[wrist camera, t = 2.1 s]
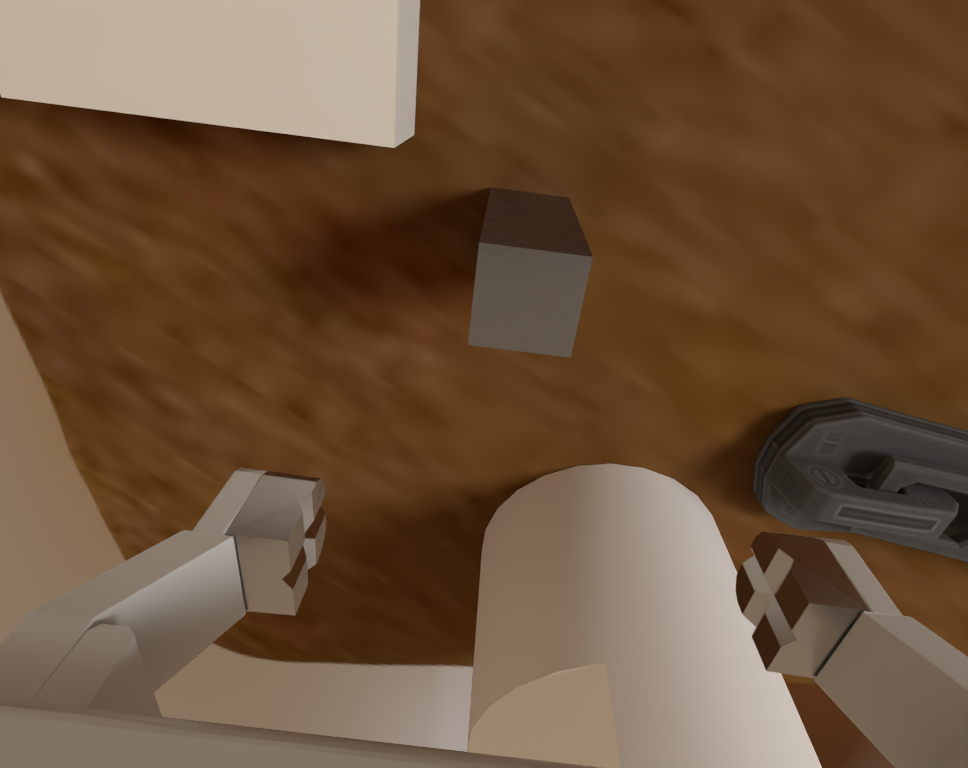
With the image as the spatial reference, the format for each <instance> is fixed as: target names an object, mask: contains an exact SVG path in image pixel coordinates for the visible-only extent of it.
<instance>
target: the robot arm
mask: <svg viewBox="0 0 968 768" xmlns="http://www.w3.org/2000/svg"><path fill="white" fill-rule="evenodd" d="M324 496H325V489H324V481H323V480H322V479H321V478H314V477H307V476H300V475H293V474H286V473H279V472H272V471H268V472H267V471H261V470H254V469H248V468H240V469H238V470H236V471H235V472H234V473H233V474H232V475H231V477H230V478H229V480H228V481H227V482H226V484H225V485H224V487H223V488H222V489H221V491H220V492H219V494H218V495H217V496H216V498H215V499H214V501H213V502H212V503H211V505H210V506H209V508H208V509H207V510H206V512H205V513H204V515H203V516H202V517H201V519H200V520H199V522H198V523H197V525H196V526H195V527H194V529H193V530H192V531H186V530H183V531H181V532H179V533H177V534H175V535H173V536H171V537H170V538H168V539H166V540H164V541H162V542H160V543H158V544H156V545H155V546H153V547H151V548H149V549H147V550H145V551H143V552H141V553H140V554H138V555H136V556H134V557H132V558H130V559H128V560H127V561H125V562H123V563H121V564H119V565H117V566H115V567H113V568H112V569H110V570H108V571H106V572H104V573H102V574H100V575H99V576H97V577H95V578H93V579H91V580H89V581H87V582H85V583H83V584H82V585H80V586H78V587H76V588H74V589H72V590H70V591H68V592H67V593H65V594H63V595H61V596H59V597H57V598H55V599H53V600H52V601H50V602H48V603H46V604H44V605H42V606H41V607H38V608H37V609H35V610H33V611H31V612H29V613H28V615H27V616H26V617H25V618H24V619H23V620H22V621H21V622H20V623H19V624H18V626H17V627H16V628H15V629H14V630H13V631H12V632H11V633H10V634H9V635H8V637H7V638H6V639H5V640H4V641H3V642H2V643H1V644H0V768H603V767H594V766H585V765H576V764H568V763H559V762H550V761H541V760H533V759H524V758H515V757H506V756H498V755H489V754H480V753H471V752H463V751H454V750H445V749H436V748H427V747H418V746H410V745H402V744H393V743H384V742H376V741H367V740H358V739H350V738H341V737H332V736H323V735H314V734H305V733H297V732H289V731H280V730H272V729H263V728H254V727H246V726H237V725H228V724H219V723H211V722H202V721H193V720H184V719H176V718H167V717H162V716H161V713H160V710H159V708H158V704H157V701H156V698H155V696H154V692H155V691H156V690H158V689H159V688H160V687H161V686H162V685H163V684H164V683H166V682H167V681H168V680H169V679H170V678H172V677H173V676H174V675H175V674H176V673H177V672H178V671H180V670H181V669H182V668H183V667H184V666H186V665H187V664H188V663H189V662H190V661H192V660H193V659H194V658H195V657H196V656H197V655H199V654H200V653H201V652H202V651H203V650H204V649H206V648H207V647H208V646H209V645H210V644H212V643H213V642H214V641H215V640H216V639H217V638H219V637H220V636H221V635H222V634H223V633H224V632H226V631H227V630H228V629H229V628H230V627H231V626H233V625H234V624H235V623H236V622H237V621H239V620H240V619H241V618H242V617H243V616H244V615H246V611H250V612H261V613H273V614H284V615H296V612H297V610H298V608H299V605H300V603H301V600H302V598H303V595H304V593H305V591H306V588H307V586H308V572H307V570H308V569H310V568H311V567H313V566H314V565H315V564H317V561H318V558H319V556H320V553H321V550H322V546H323V542H324V538H325V531H326V513H325V512H324V510H323V509H322V508H321V507H320V505H321V503H322V501H323V499H324ZM751 548H752V551H753V553H754V556H753V557H752V558H750V559H748V560H747V561H745V562H743V563H742V565H741V567H740V569H739V571H738V574H737V576H736V590H735V591H736V596H737V601H738V604H739V607H740V609H741V612H742V614H743V615H744V616H745V617H746V618H747V619H748V620H749V621H750V622H751V623H752V624H753V625H754V626H755V629H754V632H753V634H752V638H753V641H754V643H755V645H756V648H757V650H758V652H759V655H760V657H761V660H762V662H763V664H764V667H765V669H766V671H770V672H777V673H783V674H790V675H797V676H804V677H811V678H815V679H814V681H815V682H816V683H817V684H818V685H819V686H820V687H821V689H822V690H823V691H824V692H825V693H826V694H827V695H828V696H829V697H830V698H831V699H832V700H833V701H834V702H835V704H836V705H837V706H838V707H839V708H840V709H841V710H842V711H843V712H844V713H845V714H846V715H847V716H848V718H849V719H850V720H851V721H852V722H853V723H854V724H855V725H856V726H857V727H858V728H859V729H860V730H861V732H862V733H863V734H864V735H865V736H866V737H867V738H868V739H869V740H870V741H871V742H872V743H873V744H874V746H875V747H877V749H878V750H879V751H880V752H881V753H882V754H883V755H884V756H885V757H886V758H887V759H888V761H890V763H891V764H892V765H893V766H894V767H895V768H968V657H967V656H966V655H964V654H963V653H961V652H960V651H959V650H957V649H956V648H954V647H953V646H952V645H950V644H949V643H947V642H946V641H945V640H943V639H942V638H940V637H939V636H938V635H936V634H935V633H933V632H932V631H931V630H929V629H928V628H926V627H925V626H924V625H922V624H921V623H919V622H918V621H917V620H915V619H914V618H912V617H907V616H903V615H902V614H901V613H900V611H899V610H898V608H897V607H896V606H895V604H894V603H893V601H892V600H891V599H890V597H889V596H888V594H887V593H886V592H885V590H884V589H883V588H882V586H881V585H880V583H879V582H878V581H877V579H876V578H875V576H874V575H873V574H872V572H871V571H870V569H869V568H868V567H867V565H866V564H865V562H864V561H863V560H862V558H861V557H860V555H859V554H858V553H857V551H856V550H855V548H854V547H853V546H852V545H851V544H849V543H848V542H846V541H845V540H835V539H826V538H812V537H804V536H795V535H786V534H777V533H769V532H761V533H760V534H759V535H758V536H756V537H755V539H754V541H753V543H752V545H751Z"/></svg>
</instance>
